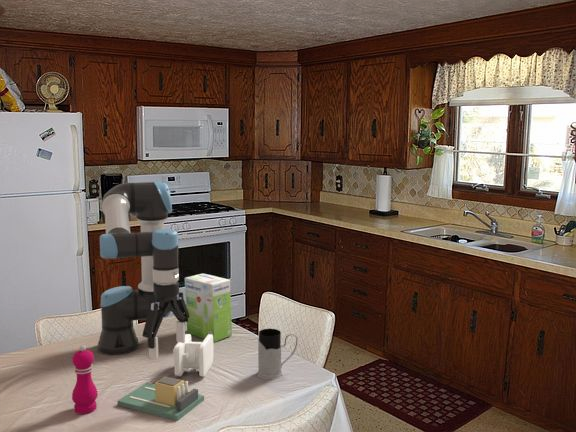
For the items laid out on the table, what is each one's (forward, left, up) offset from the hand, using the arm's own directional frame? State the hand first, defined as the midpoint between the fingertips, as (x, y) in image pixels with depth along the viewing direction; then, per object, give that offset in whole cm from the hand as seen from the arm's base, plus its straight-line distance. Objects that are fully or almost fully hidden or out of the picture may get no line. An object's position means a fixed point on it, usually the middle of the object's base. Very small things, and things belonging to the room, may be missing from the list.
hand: (167, 349), depth 168 cm
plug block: (+1, -1, -16) cm, 16 cm away
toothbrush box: (-21, +56, -18) cm, 63 cm away
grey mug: (+21, +34, -18) cm, 44 cm away
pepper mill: (-20, -14, -17) cm, 30 cm away
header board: (-2, -1, -17) cm, 17 cm away
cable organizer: (-6, +23, -18) cm, 30 cm away
